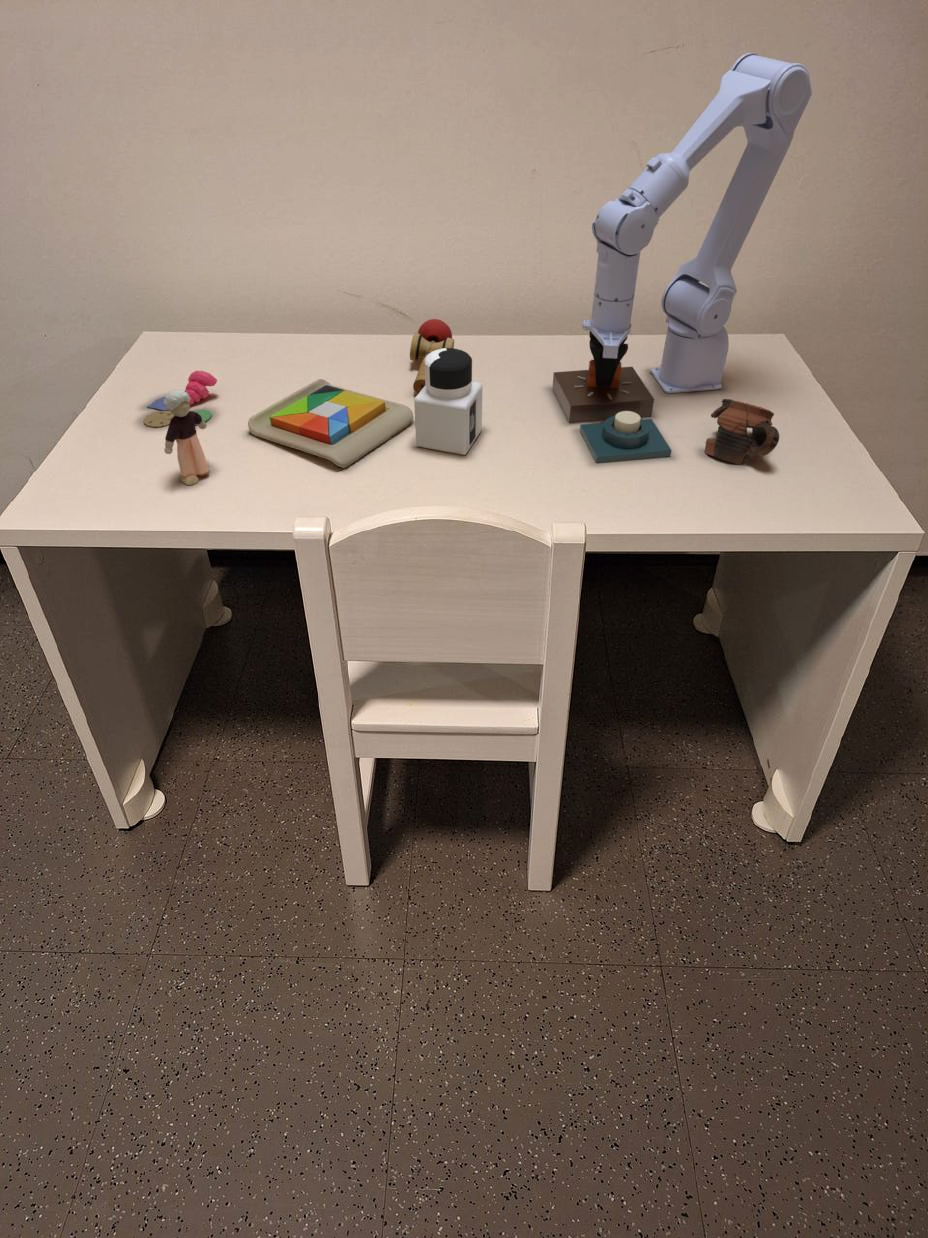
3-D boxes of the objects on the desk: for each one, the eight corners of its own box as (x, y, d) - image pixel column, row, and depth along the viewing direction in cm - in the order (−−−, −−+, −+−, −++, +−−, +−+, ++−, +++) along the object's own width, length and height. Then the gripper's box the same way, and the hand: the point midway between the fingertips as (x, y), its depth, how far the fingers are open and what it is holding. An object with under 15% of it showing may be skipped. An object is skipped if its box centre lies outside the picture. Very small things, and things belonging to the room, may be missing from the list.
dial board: (629, 383, 132) (632, 365, 130) (651, 416, 125) (654, 398, 122) (552, 389, 131) (553, 370, 129) (568, 423, 123) (570, 404, 121)
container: (482, 430, 122) (483, 346, 113) (465, 456, 116) (465, 371, 108) (434, 421, 124) (431, 339, 115) (415, 446, 118) (411, 362, 109)
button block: (650, 425, 123) (653, 407, 121) (670, 457, 116) (674, 438, 114) (579, 431, 121) (581, 413, 119) (595, 463, 115) (598, 445, 113)
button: (634, 420, 118) (636, 409, 117) (642, 433, 116) (644, 422, 115) (610, 422, 118) (612, 411, 117) (617, 435, 115) (619, 424, 114)
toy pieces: (166, 387, 131) (159, 362, 128) (230, 394, 130) (225, 368, 127) (129, 424, 123) (121, 398, 120) (198, 432, 121) (191, 405, 118)
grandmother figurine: (196, 491, 110) (172, 406, 101) (170, 486, 111) (145, 401, 102) (223, 461, 115) (203, 378, 107) (199, 457, 116) (177, 374, 108)
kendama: (452, 403, 130) (462, 340, 141) (443, 369, 125) (455, 307, 137) (405, 408, 132) (419, 345, 143) (395, 375, 127) (411, 313, 138)
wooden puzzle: (325, 387, 132) (322, 366, 129) (417, 421, 124) (416, 400, 121) (245, 432, 121) (241, 411, 119) (340, 473, 113) (337, 451, 111)
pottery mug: (684, 448, 119) (704, 392, 116) (726, 460, 124) (746, 407, 122) (747, 467, 109) (770, 406, 107) (789, 480, 115) (812, 422, 112)
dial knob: (618, 383, 126) (621, 360, 124) (618, 388, 125) (621, 365, 122) (587, 381, 126) (589, 358, 124) (587, 386, 125) (589, 363, 123)
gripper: (586, 273, 122) (577, 359, 131) (586, 313, 111) (576, 403, 120) (633, 275, 121) (621, 361, 130) (638, 315, 111) (624, 406, 120)
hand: (603, 382), depth 125 cm, fingers closed on dial knob
